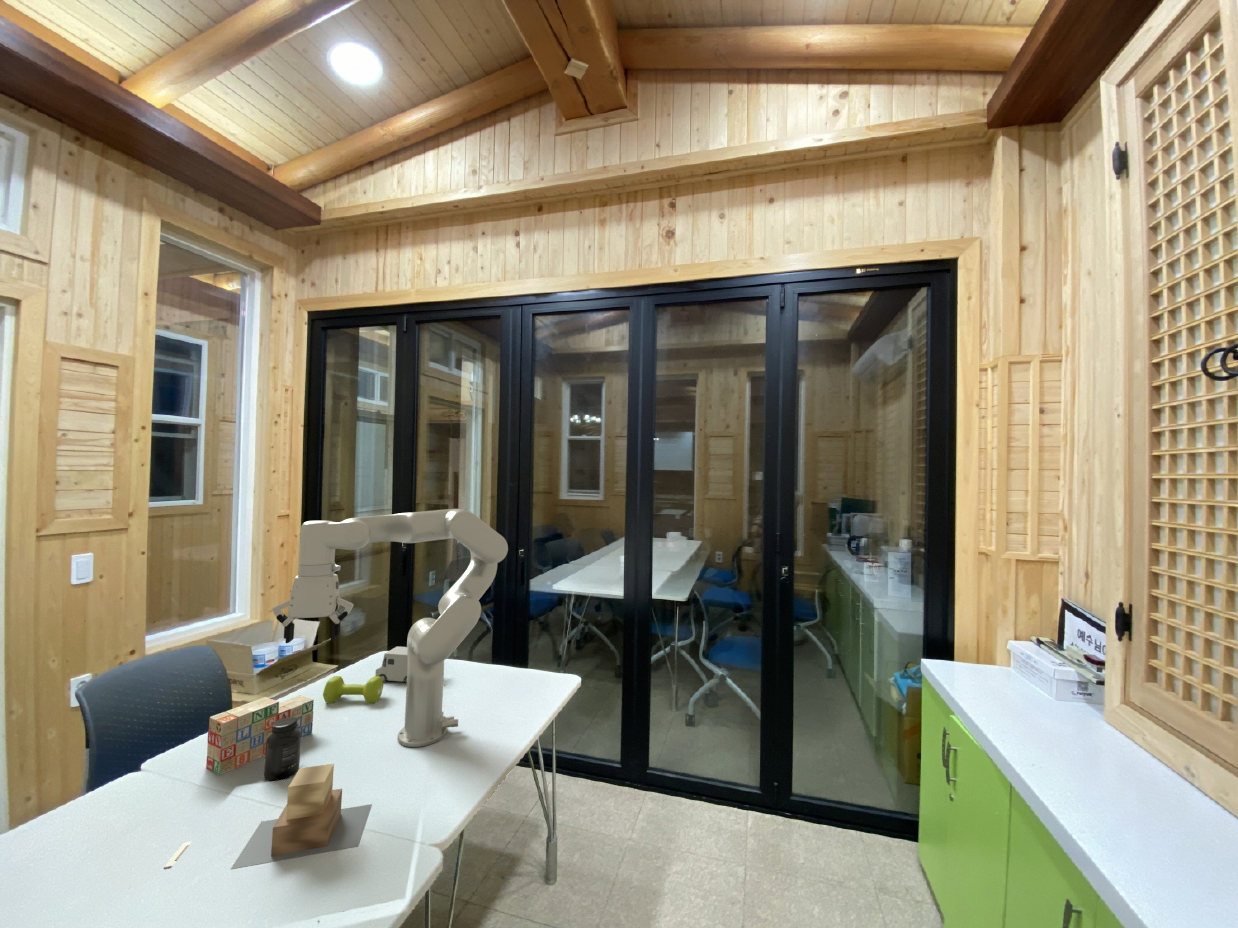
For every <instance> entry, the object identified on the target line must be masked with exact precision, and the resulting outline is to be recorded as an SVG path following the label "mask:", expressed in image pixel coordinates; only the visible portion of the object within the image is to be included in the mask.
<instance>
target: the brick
mask: <svg viewBox="0 0 1238 928" xmlns="http://www.w3.org/2000/svg"><path fill="white" fill-rule="evenodd" d="M342 799H343V788H338V789H337V788H336V789H332V796H331V798H330V800H329V802H328V804H327V806H326V808H325V811H324V813H323V814H321V815H315V816H309V817H303V818H296V819H290V820H286V814H287V804H285V806H284V808H283V810H282V811H281V813H280V815H279V816H278V818H277V819H278V820H277V821H276V823H275V825H274V826H273V833H272V848H271V856H274V855H280V854H286V853H291V852H297V851H303V850H308V849H314V848H320V847H325V846H328V843H329V841H330V838H331V836H332V834H333V831H334V829H335V826H336V824H337V822H338V819H339V817H340V814H341V809H342V803H343V802H342V801H343V800H342Z"/></svg>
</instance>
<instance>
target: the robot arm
mask: <svg viewBox="0 0 1238 928" xmlns="http://www.w3.org/2000/svg"><path fill="white" fill-rule="evenodd" d="M448 539H449V540H450V539H454V540H456V541H457V542H458V543H460V544H461V545H462V546H463V547H465V548H466V549H468V550H469V553H470V561H469V564H468V566H467V568H466V570H465V571H464V572H463V573H462V575H460V577H459V578H458V579H457V580H456V581H455V582H454V583H453V584H452V586H451V587H450V588H449V589H448V590H447V591H446V592H445V593H444V595H442V597H441V598H440V600H439V602H438V605H437V608H438V613H439V614H440V615H439V617H438V618H437V619H436V618H432V617H423V618H421V619H418V620H417V621H416V622H414V624H412V626H411V627H410V629H409V631H408V634H407V638H406V639H407V641H406V647H407V656H408V668H407V684H406V690H405V692H406V693H405V713H404V726H403V727H402V728H401V729H400V730H399V731H398V733H397V741H398V743H399V744H400V745H402V746H405V747H410V748H418V747H419V748H420V747H425V746H429V745H432V744H435V743H437V742H439V741H440V740H442V739H443V738H444V737H445V736H446V734H447V733H448V728H457V727H459V718H455V715H454V716H453V715H451V716H444V715H445V714H444V711H443V697H444V676H445V660H447V659H448V658H449V657H450V656H451V655H452V654H453V653H454V652H455V650H456V649H457V648H458V646H460V645H461V643H462V642H463V641H464V640H465V639H466V637H467V636H469V634H470V633H471V631H473V629H474V628H475V626H476V625H477V623H478V621H479V619H480V617H481V614H482V605H481V602H480V601H479V600H480V599H481V598H482V597H483V595H484V594H485V593H486V591H487V590H488V589H489V587H490V586H492V583H493V581H494V579H495V578H496V575H497V570H498V564H499V563H500V562H502V561H503V560H504V559H505V558H506V556H507V554H508V551H509V547H508V546H509V545H508V542H507V540H506V539H505V537H504V536H503V535H501V534H500V533H498V532H497V531H496V530H494V528H492V527H491V526H490V525H489V524H487V523H486V522H485V521H483V520H482V519H481V518H480V517H478V516H477V515H476V514H474V513H473V512H472V511H469V510H467V509H462V508H448V509H447V508H445V509H436V510H435V509H434V510H425V511H413V512H401V513H394V514H385V515H384V514H382V515H381V514H380V515H372V516H371V515H370V516H360V517H357V516H356V517H351V518H346V519H344V520H342V521H340V522H339V521H338V522H335V521H332V520H308V521H305V522H303V523H302V524H301V526H300V538H299V552H298V553H299V555H298V571H297V575H296V576H295V577H294V578H293V582H292V585H291V590H290V594H289V595H290V596H289V600H286V601H284V602H282V603H281V604H278V605H276V606H275V607H273V608H272V612H273V614H274V616H275V618H276V620H277V621H278V622H279V623H280V624H281V625H282V626H283V627H284V628H283V639H285V641H284V642H285V644H289V643H291V642H292V641H293V640H294V639H295V623H294V621H295V620H296V619H305V618H306V619H308V618H309V619H310V618H325V617H327V618H328V617H329V618H330V620H331V621H332V622H333V623H332V624H331V625H330V626H331V628H330V629H331V630H330V631H331V632H330V640H331V641H335V640H336V639H337V638H338V636H340V634H341V622H342V621H343V620H344V619H345V618H346V617H347V616H348V615H350V612H351V611H352V609H353V607H354V606H355V604H354V603H352V602H350V601H348V600H346V599H343V598H341V597H340V582H339V575H338V574H336V572H337V571H341V567H342V566H341V565H338V564H336V562H335V556H336V550H347V551H355V550H359V549H362V548H364V547H366V546H367V545H368V544H372V543H382V542H383V543H384V542H386V543H387V542H395V543H396V542H397V543H403V544H404V543H405V544H415V543H416V544H417V543H423V542H425V543H426V542H432V541H440V540H441V541H442V540H448ZM340 606H341V607H343V608H344V610H343V612H342V613H341V614H340V613H339V612H338V611H339V609H340ZM286 608H288V609H287V611H288V612H287V613H288V616H287V615H286V614H285V613H283V612H284V611H283V609H286Z"/></svg>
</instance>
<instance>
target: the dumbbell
mask: <svg viewBox="0 0 1238 928" xmlns="http://www.w3.org/2000/svg"><path fill="white" fill-rule="evenodd" d="M383 689H384V682H383V681H382V678H381V677H380V676H375V675H374V676H372V677H371V678H370V679H368V680H367V682H366V684H355V683H353V684H346V683H345V681H344V679H343V677H342V676H339V675H334V676H332V677H331V678H329V679H328V680H327V681H326V683H325V685H324V688H323V692H322V697H323V700H324V702H325V703H326V704H333V703H335V702H337V701H338V700H340V698H342V696H345V695H346V696H363V699H364V701H365V702H366V704H375V703H376V702H378V700H380V698H381V695H382V693H383Z"/></svg>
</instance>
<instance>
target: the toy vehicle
mask: <svg viewBox="0 0 1238 928" xmlns="http://www.w3.org/2000/svg"><path fill="white" fill-rule="evenodd" d="M407 668H408V656H407V646H395V647H394V648H392V649H391V650H388V651H387V652H385V653H384V654H383V659H382V664H381V666H380V667H378V668H376V669H375V675H374V677H375V676H380V677H381V678H382V681H383V683H385V682H386V681H391V682H404V683H405V684H406V685H407Z"/></svg>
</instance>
